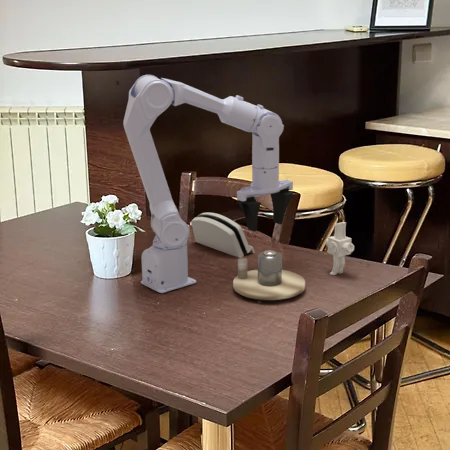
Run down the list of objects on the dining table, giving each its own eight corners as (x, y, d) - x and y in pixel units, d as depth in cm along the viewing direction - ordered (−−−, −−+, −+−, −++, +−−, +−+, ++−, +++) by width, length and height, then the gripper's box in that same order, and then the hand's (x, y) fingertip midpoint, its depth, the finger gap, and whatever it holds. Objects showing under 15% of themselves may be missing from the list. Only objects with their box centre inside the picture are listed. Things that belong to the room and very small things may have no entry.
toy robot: (344, 281, 167) (345, 228, 163) (320, 270, 173) (321, 219, 169) (357, 277, 169) (359, 224, 165) (333, 267, 175) (335, 216, 171)
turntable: (290, 304, 153) (291, 280, 151) (221, 293, 159) (221, 270, 157) (314, 278, 166) (315, 256, 164) (249, 269, 172) (249, 248, 170)
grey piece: (256, 253, 185) (245, 218, 180) (242, 264, 182) (231, 229, 178) (210, 237, 197) (199, 204, 192) (197, 247, 194) (185, 214, 190)
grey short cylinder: (278, 287, 159) (279, 257, 157) (255, 285, 160) (255, 255, 158) (283, 278, 163) (284, 249, 161) (260, 276, 164) (260, 247, 162)
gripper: (277, 158, 173) (277, 216, 177) (227, 168, 165) (228, 229, 169) (299, 163, 168) (298, 223, 172) (249, 174, 159) (249, 236, 164)
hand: (265, 226), depth 170 cm, fingers open, 7 cm apart
